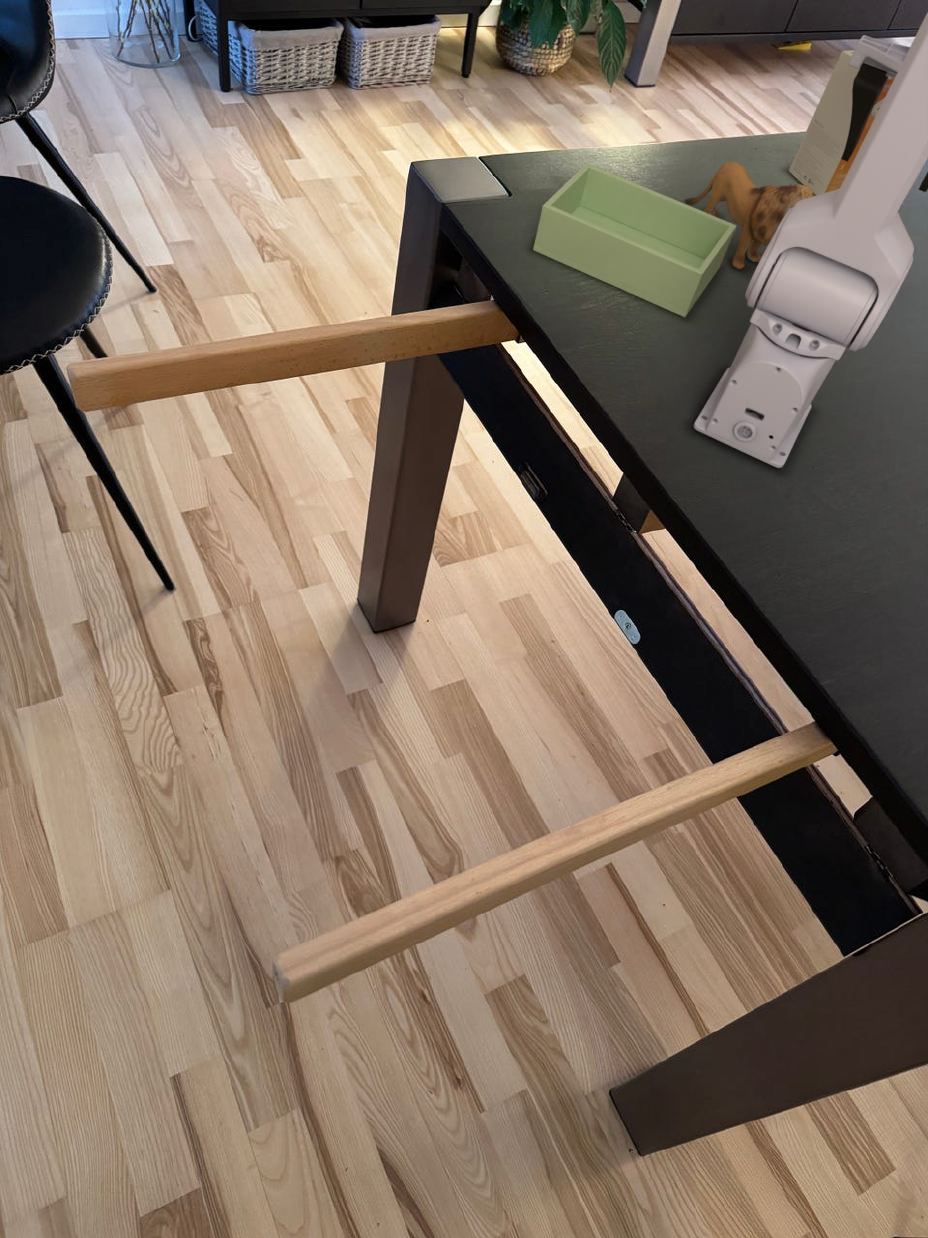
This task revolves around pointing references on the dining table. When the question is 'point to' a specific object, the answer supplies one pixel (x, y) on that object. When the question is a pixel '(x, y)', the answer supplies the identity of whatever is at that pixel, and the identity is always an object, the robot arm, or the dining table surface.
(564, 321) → the dining table surface
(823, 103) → the small box
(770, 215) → the lion figurine
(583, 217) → the bin
